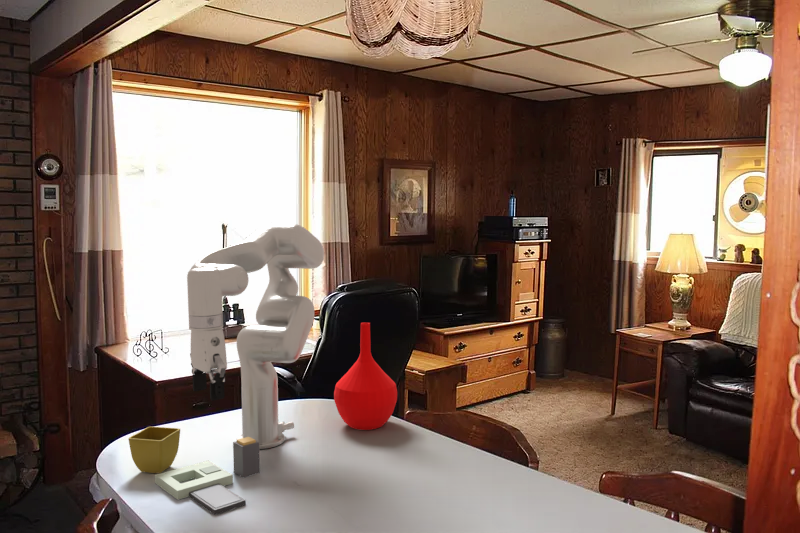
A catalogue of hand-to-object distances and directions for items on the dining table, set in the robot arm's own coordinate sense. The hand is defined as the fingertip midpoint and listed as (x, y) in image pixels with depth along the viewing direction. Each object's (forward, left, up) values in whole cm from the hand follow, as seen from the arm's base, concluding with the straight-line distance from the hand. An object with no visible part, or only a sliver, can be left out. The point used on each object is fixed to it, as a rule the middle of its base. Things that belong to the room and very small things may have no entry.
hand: (208, 394), depth 153 cm
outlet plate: (+5, +2, -19) cm, 20 cm away
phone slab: (+5, +14, -19) cm, 24 cm away
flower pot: (+8, -12, -20) cm, 25 cm away
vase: (-51, -4, -20) cm, 55 cm away
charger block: (-7, +4, -19) cm, 21 cm away
